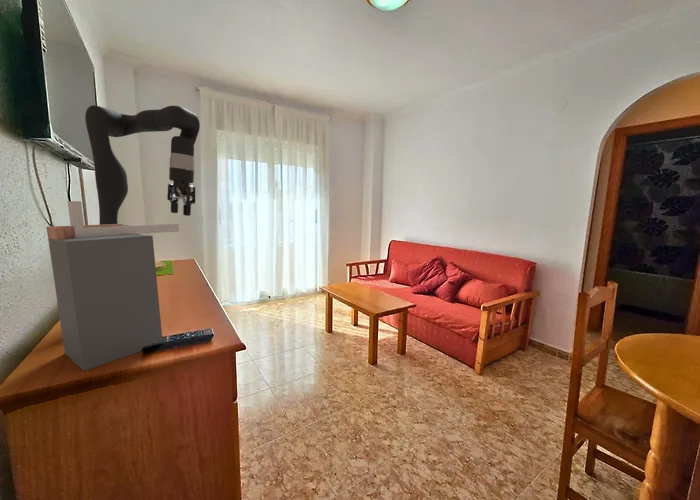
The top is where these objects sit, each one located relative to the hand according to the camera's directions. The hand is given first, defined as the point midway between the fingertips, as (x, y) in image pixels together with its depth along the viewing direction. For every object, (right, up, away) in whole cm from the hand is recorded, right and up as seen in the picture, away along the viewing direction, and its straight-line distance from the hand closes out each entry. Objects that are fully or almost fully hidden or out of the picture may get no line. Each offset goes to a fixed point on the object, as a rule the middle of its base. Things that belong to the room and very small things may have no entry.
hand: (180, 214), depth 106 cm
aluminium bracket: (-4, -8, -18) cm, 20 cm away
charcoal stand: (-6, -41, -22) cm, 47 cm away
